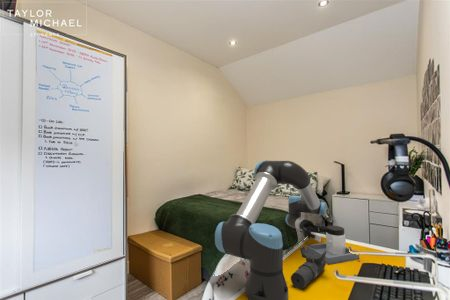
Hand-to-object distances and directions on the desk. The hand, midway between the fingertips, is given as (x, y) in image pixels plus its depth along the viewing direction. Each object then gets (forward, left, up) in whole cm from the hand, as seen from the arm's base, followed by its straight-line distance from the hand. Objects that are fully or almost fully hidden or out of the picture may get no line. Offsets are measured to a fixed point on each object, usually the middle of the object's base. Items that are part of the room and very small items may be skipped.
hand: (331, 237), depth 116 cm
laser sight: (-24, -14, -9) cm, 30 cm away
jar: (+3, +1, -8) cm, 9 cm away
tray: (0, 0, -9) cm, 9 cm away
